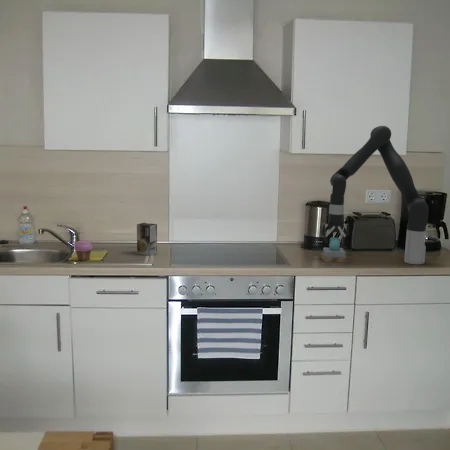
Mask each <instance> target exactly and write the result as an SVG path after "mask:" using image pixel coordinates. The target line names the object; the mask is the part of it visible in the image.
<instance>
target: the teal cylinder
mask: <svg viewBox="0 0 450 450" xmlns="http://www.w3.org/2000/svg"><path fill="white" fill-rule="evenodd" d="M340 240H341V238H340V237H329V244H328V246H329V247H328V248H329V250H332V251H339V248H341V247H340V246H341V245H340V243H341V242H340Z"/></svg>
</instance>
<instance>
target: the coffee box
mask: <svg viewBox="0 0 450 450" xmlns="http://www.w3.org/2000/svg"><path fill="white" fill-rule="evenodd" d="M136 254H137V255H144V256H154V255H157V254H158V224H157V223H150V222H149V223H148V222H141V223H138V224H137V223H136Z"/></svg>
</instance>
